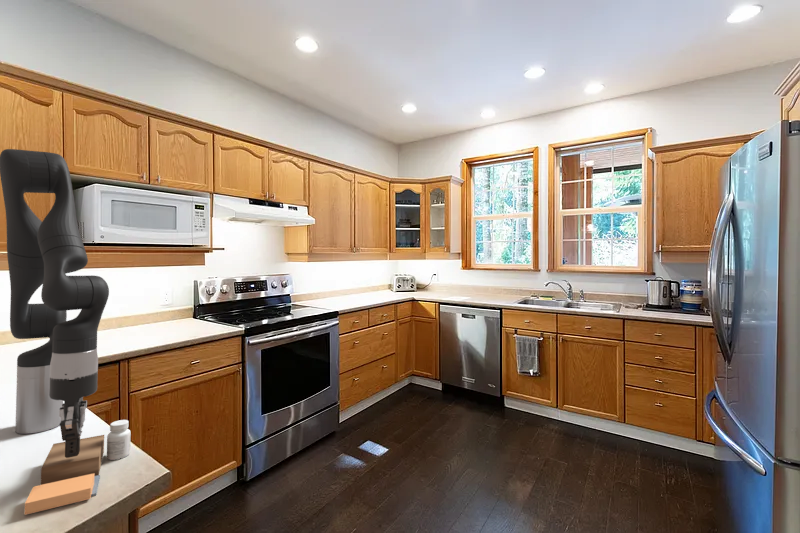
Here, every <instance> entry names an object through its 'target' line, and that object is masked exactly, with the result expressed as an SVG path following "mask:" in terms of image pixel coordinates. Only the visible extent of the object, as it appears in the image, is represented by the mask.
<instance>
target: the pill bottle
mask: <svg viewBox="0 0 800 533" xmlns="http://www.w3.org/2000/svg"><path fill="white" fill-rule="evenodd" d="M109 431H110V432H108V434H107V436H106V438H107V439H106V459H108V460H109V459H110V460H111V461H116V460H115V459H117V460H121V459H124V458H126V457H127V456H129V455H130V453H131V436H132V434H131V430H130V429H129V420H128V419H120V420H115V421H113V422H110V424H109ZM120 458H121V459H120Z"/></svg>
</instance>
